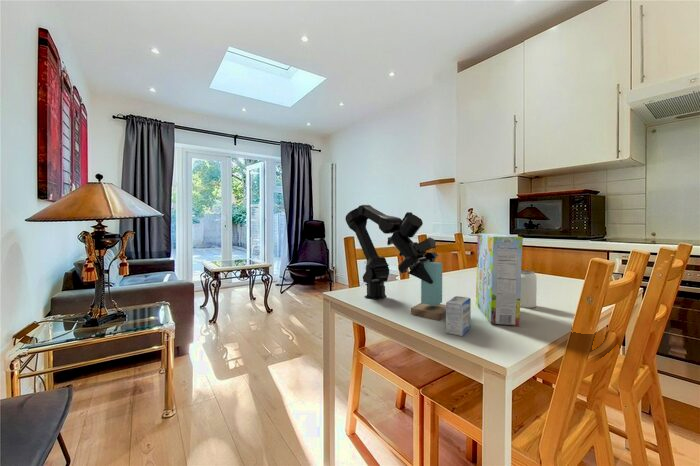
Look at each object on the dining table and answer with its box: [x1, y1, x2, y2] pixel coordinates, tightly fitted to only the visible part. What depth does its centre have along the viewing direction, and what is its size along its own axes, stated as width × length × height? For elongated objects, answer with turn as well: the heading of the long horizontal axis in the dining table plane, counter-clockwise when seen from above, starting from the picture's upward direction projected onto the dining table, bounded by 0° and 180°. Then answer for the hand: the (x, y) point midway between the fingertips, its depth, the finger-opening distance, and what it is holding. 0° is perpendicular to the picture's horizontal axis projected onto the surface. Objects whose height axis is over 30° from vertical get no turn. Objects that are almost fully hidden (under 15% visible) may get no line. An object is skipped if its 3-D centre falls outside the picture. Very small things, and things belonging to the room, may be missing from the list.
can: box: [520, 269, 538, 309], centre depth 104 cm, size 6×6×12 cm
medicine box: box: [445, 295, 472, 337], centre depth 82 cm, size 8×4×9 cm, turn 143°
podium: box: [410, 302, 446, 321], centre depth 98 cm, size 10×10×2 cm
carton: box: [420, 261, 443, 306], centre depth 97 cm, size 5×5×13 cm
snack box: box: [475, 233, 524, 327], centre depth 95 cm, size 22×9×26 cm, turn 168°
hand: (435, 281), depth 96 cm, fingers closed on carton, 5 cm apart
